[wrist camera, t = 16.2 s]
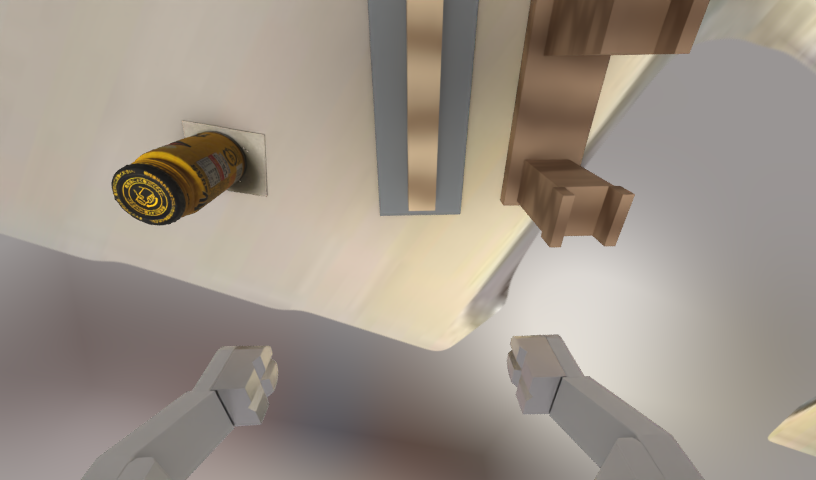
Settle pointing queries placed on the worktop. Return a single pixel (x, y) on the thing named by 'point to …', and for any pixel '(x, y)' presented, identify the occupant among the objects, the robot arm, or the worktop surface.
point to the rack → (579, 106)
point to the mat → (392, 102)
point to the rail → (423, 99)
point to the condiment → (191, 173)
